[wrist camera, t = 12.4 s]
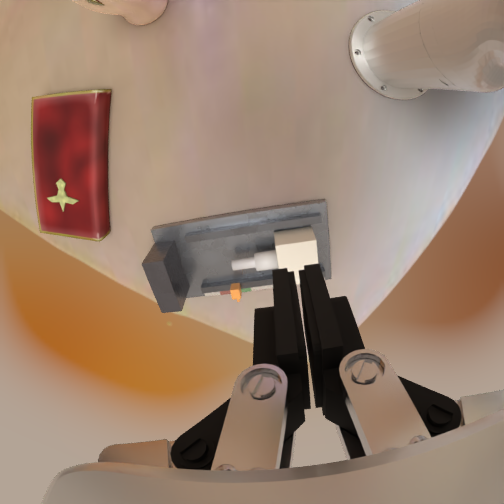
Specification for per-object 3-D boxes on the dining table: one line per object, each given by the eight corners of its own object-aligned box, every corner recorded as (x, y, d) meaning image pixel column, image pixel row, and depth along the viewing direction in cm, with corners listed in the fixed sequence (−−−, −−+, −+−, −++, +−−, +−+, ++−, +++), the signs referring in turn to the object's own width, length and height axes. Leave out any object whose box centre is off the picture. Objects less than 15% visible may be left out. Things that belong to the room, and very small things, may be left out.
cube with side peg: (311, 226, 39) (316, 239, 36) (315, 277, 43) (320, 294, 40) (229, 238, 40) (226, 252, 37) (241, 288, 44) (239, 305, 41)
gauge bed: (324, 199, 39) (336, 219, 33) (329, 274, 45) (339, 303, 38) (153, 226, 42) (136, 250, 35) (177, 294, 47) (166, 323, 41)
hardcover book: (114, 89, 32) (99, 89, 29) (112, 230, 42) (100, 242, 39) (47, 95, 32) (30, 97, 28) (52, 222, 42) (39, 233, 38)
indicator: (239, 282, 42) (238, 289, 41) (243, 297, 44) (242, 304, 42) (231, 283, 43) (230, 290, 41) (235, 298, 44) (234, 305, 42)
